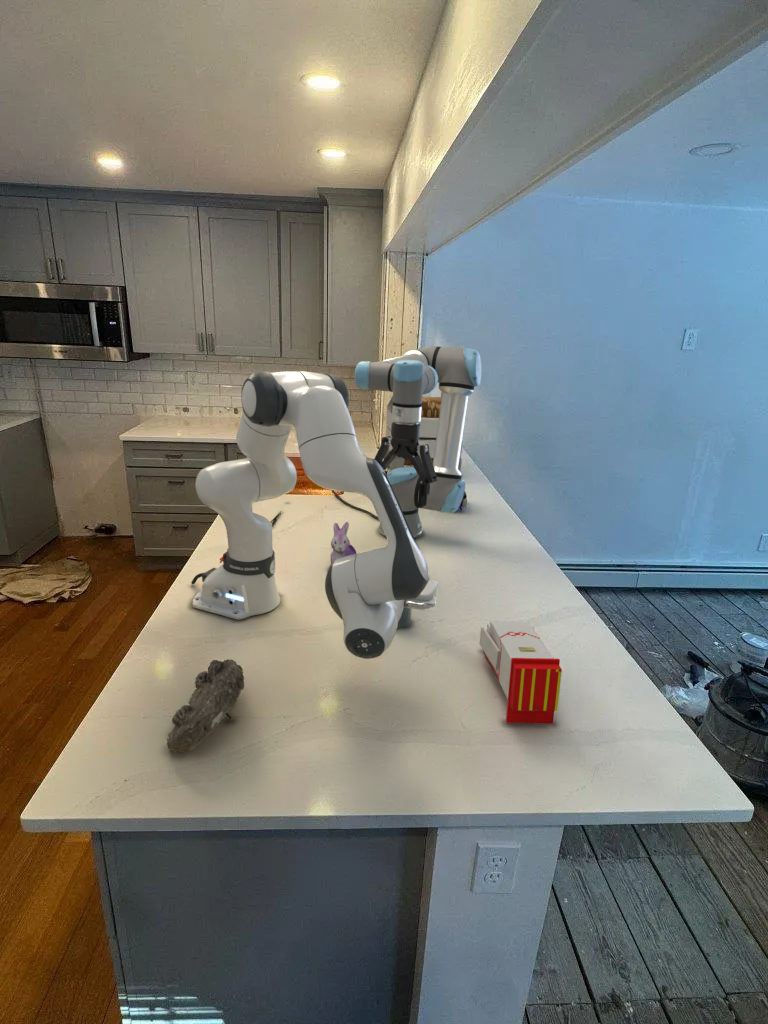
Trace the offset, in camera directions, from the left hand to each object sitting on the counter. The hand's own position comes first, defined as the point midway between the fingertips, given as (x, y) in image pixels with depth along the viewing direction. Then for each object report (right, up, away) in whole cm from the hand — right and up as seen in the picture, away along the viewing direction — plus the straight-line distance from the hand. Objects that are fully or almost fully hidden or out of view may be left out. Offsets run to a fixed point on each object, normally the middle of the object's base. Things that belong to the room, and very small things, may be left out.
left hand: (394, 572), depth 125 cm
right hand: (+3, +16, +29) cm, 33 cm away
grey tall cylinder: (+2, -15, +19) cm, 24 cm away
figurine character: (+27, +15, +105) cm, 109 cm away
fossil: (-35, -26, -17) cm, 47 cm away
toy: (+26, -23, -2) cm, 35 cm away
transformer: (+15, +32, +150) cm, 154 cm away
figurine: (-14, -4, +46) cm, 48 cm away
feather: (-41, +12, +88) cm, 98 cm away
